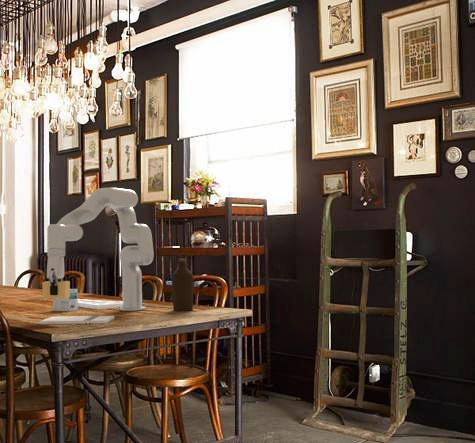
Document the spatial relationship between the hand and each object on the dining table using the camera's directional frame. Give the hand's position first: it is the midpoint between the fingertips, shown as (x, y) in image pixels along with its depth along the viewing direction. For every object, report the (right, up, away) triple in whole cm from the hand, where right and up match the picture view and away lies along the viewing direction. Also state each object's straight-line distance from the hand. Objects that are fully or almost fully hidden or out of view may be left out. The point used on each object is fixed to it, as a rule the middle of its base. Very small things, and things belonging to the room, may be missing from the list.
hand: (56, 294), depth 277 cm
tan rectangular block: (0, -2, 0) cm, 2 cm away
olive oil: (+52, -12, +35) cm, 64 cm away
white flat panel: (+9, -12, 0) cm, 15 cm away
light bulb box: (-8, -13, +43) cm, 46 cm away
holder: (+1, -14, +68) cm, 69 cm away
